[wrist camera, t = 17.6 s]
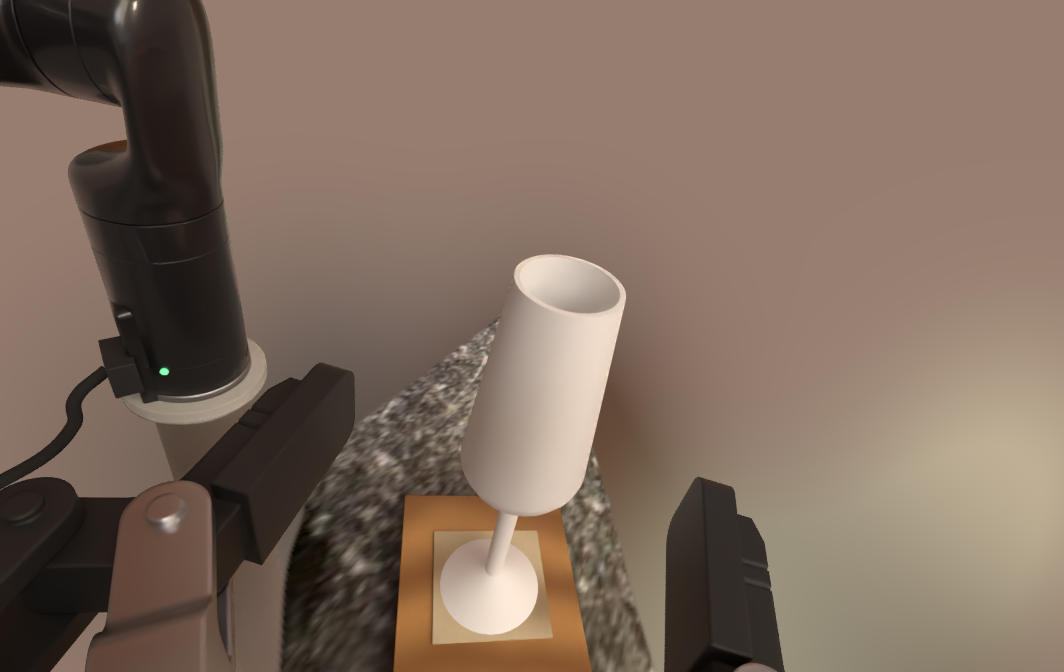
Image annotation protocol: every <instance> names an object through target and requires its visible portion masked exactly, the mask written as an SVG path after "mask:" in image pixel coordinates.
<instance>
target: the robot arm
mask: <svg viewBox="0 0 1064 672" xmlns="http://www.w3.org/2000/svg"><path fill="white" fill-rule="evenodd" d="M0 86H7V87H18V88H29V89H35V90H41V91H46V92H51V93H55V94H60V95H64V96H69V97H74V98H80V99H84V100H89V101H94V102H99V103H103V104H108V105H113V106H118V107H122V109H123V114H124V120H125V127H126V134H127V140H122V141H116V142H111V143H107V144H103V145H99V146H96V147H94V148H91V149H88V150H86V151H84V152H83V153H81V154H79V155H77V156H76V157H75V158H74V159H73V160H72V161H71V163H70V165H69V169H68V177H69V181H70V185H71V188H72V191H73V194H74V197H75V200H76V203H77V205H78V208H79V211H80V214H81V216H82V220H83V223H84V226H85V229H86V232H87V235H88V237H89V241H90V244H91V247H92V250H93V252H94V256H95V259H96V262H97V265H98V268H99V271H100V274H101V276H102V280H103V283H104V286H105V289H106V292H107V295H108V299H109V302H110V306H111V309H112V312H113V316H114V319H115V322H116V325H117V328H118V331H119V334H120V336H118V337H113V338H108V339H103V340H99V341H98V342H99V346H100V350H101V354H102V359H103V363H104V367H105V368H104V367H103V366H101V367H100V368H98V369H97V370H96V371H95V372H93V373H92V374H91V375H90V376H88V377H87V378H86V379H84V380H83V381H82V382H81V383H79V384H78V385H77V386H76V387H75V388H74V390H73V391H72V392H71V394H70V395H69V397H68V399H67V401H66V413H67V418H68V420H67V423H66V425H65V426H64V428H63V429H62V431H61V432H60V433H59V434H58V436H57V437H56V438H55V439H54V440H53V441H52V442H51V443H50V444H49V445H48V446H46V447H45V448H44V449H43V450H41V451H40V452H38V453H37V454H36V455H34V456H32V457H31V458H30V459H28V460H26V461H24V462H22V463H21V464H19V465H17V466H15V467H13V468H11V469H9V470H7V471H5V472H4V473H2V474H0V489H2V488H4V487H5V486H7V485H9V484H11V483H13V482H15V481H17V480H18V479H20V478H22V477H24V476H25V475H27V474H29V473H31V472H33V471H34V470H36V469H38V468H39V467H41V466H42V465H44V464H46V463H47V462H48V461H49V460H51V459H52V458H54V457H55V456H56V455H57V454H58V453H60V452H61V451H62V450H63V449H64V448H65V447H66V446H67V445H68V444H69V443H70V441H71V440H72V439H73V438H74V436H75V435H76V433H77V432H78V430H79V429H80V427H81V425H82V423H83V413H82V409H81V404H82V401H83V399H84V398H85V396H86V395H87V394H88V393H89V392H90V391H91V390H92V389H93V388H95V387H96V386H97V385H99V384H100V383H101V382H102V381H104V380H105V379H106V378H107V377H108V378H109V381H110V384H111V387H112V389H113V392H114V395H115V397H116V398H121V397H125V396H129V395H133V394H137V393H140V396H141V399H142V402H143V403H144V404H147V403H151V402H155V401H163V402H170V403H190V402H198V401H203V400H207V399H210V398H213V397H216V396H219V395H221V394H223V393H225V392H227V391H229V390H231V389H232V388H234V387H235V386H237V385H238V384H239V383H240V382H241V381H242V380H243V379H244V378H245V377H246V376H247V374H248V373H249V370H250V368H251V356H250V351H249V347H248V342H247V338H246V332H245V326H244V320H243V314H242V307H241V301H240V295H239V289H238V283H237V277H236V271H235V265H234V258H233V252H232V246H231V240H230V234H229V227H228V221H227V215H226V209H225V203H224V196H223V191H222V183H221V176H222V161H223V143H222V134H221V124H220V115H219V106H218V95H217V84H216V72H215V60H214V51H213V43H212V37H211V32H210V27H209V22H208V18H207V15H206V12H205V8H204V5H203V3H202V0H0ZM354 392H355V390H354V374H353V372H351V371H348V370H345V369H341V368H338V367H334V366H331V365H328V364H325V363H318V364H317V365H315V366H314V367H313V368H312V369H311V371H310V372H309V373H308V374H307V375H306V376H305V377H304V378H303V379H302V380H297V379H294V378H288V379H287V380H285V381H283V382H281V383H279V384H277V385H275V386H274V387H272V388H270V389H268V390H267V391H266V392H265V393H264V394H263V395H262V396H261V397H260V398H259V399H258V400H257V401H256V402H255V403H254V404H253V406H252V408H251V410H250V409H249V410H248V411H247V412H246V413H245V414H244V415H243V416H242V417H241V418H240V419H239V422H238V423H235V424H234V425H233V426H232V427H231V428H230V429H229V431H228V432H227V433H226V434H225V435H224V436H223V437H222V438H221V439H220V440H219V441H218V442H217V443H216V444H215V445H214V446H213V447H212V448H211V449H210V450H209V451H208V452H207V453H206V454H205V455H204V457H203V458H202V459H201V460H200V461H199V462H198V463H197V464H196V465H195V466H194V467H193V468H192V469H191V470H190V471H189V472H188V473H187V474H186V475H185V476H184V477H183V478H181V479H180V480H179V481H170V482H166V483H162V484H159V485H156V486H153V487H151V488H149V489H147V490H145V491H144V492H142V493H141V494H139V495H138V496H137V497H131V498H87V497H83V498H82V497H78V496H77V494H76V492H75V490H74V488H73V487H72V485H71V484H70V483H68V482H66V481H65V480H62V479H59V478H53V477H41V478H33V479H28V480H25V481H21V482H18V483H15V484H13V485H10V486H8V487H6V488H4V489H2V490H0V672H50V671H51V670H52V669H53V668H54V666H55V665H56V664H57V662H58V661H59V660H60V659H61V658H62V656H63V655H64V654H65V653H66V652H67V650H68V649H69V648H70V647H71V646H72V644H73V643H74V642H75V641H76V639H77V638H78V637H79V636H80V635H81V633H82V632H83V631H84V630H85V628H86V627H87V626H88V625H89V624H90V622H91V621H92V620H93V619H94V617H95V616H96V615H97V614H98V613H99V612H107V620H106V624H105V627H104V629H103V631H102V632H99V633H97V634H95V636H94V637H93V638H92V641H91V643H90V646H89V649H88V654H87V659H86V666H85V672H236V664H235V635H234V606H233V580H232V576H233V574H234V573H235V571H236V570H237V569H238V567H239V566H240V565H241V563H242V562H243V560H247V561H251V562H254V563H257V564H260V565H262V564H263V563H264V561H265V560H266V558H267V557H268V556H269V554H270V553H271V551H272V550H273V548H274V547H275V545H276V544H277V542H278V541H279V540H280V538H281V537H282V535H283V534H284V532H285V531H286V529H287V528H288V526H289V525H290V523H291V522H292V521H293V519H294V518H295V516H296V515H297V513H298V512H299V511H300V509H301V508H302V506H303V505H304V503H305V502H306V500H307V499H308V498H309V496H310V495H311V493H312V492H313V490H314V489H315V487H316V486H317V484H318V483H319V482H320V480H321V479H322V477H323V476H324V474H325V473H326V471H327V470H328V469H329V467H330V466H331V464H332V463H333V461H334V460H335V458H336V457H337V455H338V454H339V453H340V451H341V450H342V448H343V447H344V445H345V444H346V442H347V440H348V439H349V436H350V434H351V432H352V429H353V425H354V420H355V393H354ZM767 568H768V563H767V556H766V550H765V543H764V541H763V539H762V537H761V535H760V533H759V531H758V530H757V528H756V526H755V524H754V522H753V520H752V519H751V518H748V517H745V516H742V515H739V514H737V508H736V499H735V492H734V489H733V488H732V487H731V486H727V485H724V484H721V483H717V482H714V481H711V480H707V479H704V478H701V477H697V478H695V480H694V481H693V483H692V484H691V486H690V488H689V489H688V491H687V493H686V495H685V496H684V498H683V500H682V501H681V503H680V505H679V507H678V508H677V510H676V512H675V514H674V516H673V517H672V520H671V522H670V526H669V529H668V535H667V542H666V599H665V663H664V672H785V671H784V666H783V660H782V654H781V647H780V642H779V634H778V628H777V621H776V615H775V608H774V602H773V595H772V591H770V588H771V582H770V576H769V571H767Z"/></svg>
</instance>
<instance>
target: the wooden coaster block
mask: <svg viewBox="0 0 1064 672" xmlns="http://www.w3.org/2000/svg"><path fill="white" fill-rule="evenodd" d="M498 513H499V510H497V509H495V508H493V507H491V506H490V505H489V504H487V503H486V502H485V501H483V500H482V499H481V498H480V497H479V496H444V495H405V503H404V516H403V529H402V544H401V562H400V577H399V592H398V607H397V622H396V636H395V651H394V666H393V672H592V671H591V666H590V661H589V656H588V650H587V645H586V640H585V635H584V630H583V625H582V619H581V614H580V609H579V604H578V599H577V594H576V588H575V583H574V578H573V573H572V568H571V563H570V557H569V552H568V547H567V542H566V537H565V532H564V526H563V521H562V516H561V511H560V508H558V509H555V510H553V511H551V512H549V513H546V514H542V515H538V516H526V517H523V516H518V518H517V521H516V525H515V528H514V532H513V535H512V539H511V542H510V544H511V545H513V546H515V547H516V548H518V549H519V550H520V551H521V552H522V553H523V554H524V555H525V556H526V557H527V558H528V559H529V561H530V563H531V564H532V566H533V568H534V570H535V573H536V576H537V581H538V595H537V600H536V604H535V606H534V608H533V610H532V612H531V613H530V615H529V616H528V618H527V619H526V620H525V621H524V622H523V623H522V624H521V625H519V626H518V627H516V628H514V629H513V630H511V631H508V632H505V633H502V634H494V635H488V634H480V633H477V632H473V631H470V630H469V629H467V628H465V627H463V626H461V625H460V624H459V623H458V622H457V621H456V620H454V619H453V617H452V616H451V615H450V613H449V612H448V611H447V609H446V607H445V605H444V603H443V600H442V596H441V592H440V579H441V573H442V570H443V567H444V565H445V563H446V561H447V560H448V558H449V557H450V555H451V554H452V553H453V552H454V551H455V550H456V549H458V548H459V547H461V546H462V545H464V544H466V543H468V542H470V541H473V540H477V539H486V538H490V539H492V537H493V533H494V529H495V525H496V521H497V517H498Z"/></svg>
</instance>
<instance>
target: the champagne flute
mask: <svg viewBox="0 0 1064 672" xmlns="http://www.w3.org/2000/svg"><path fill="white" fill-rule="evenodd" d="M625 300H626V294H625V290H624V288H623V286H622V284H621V283H620V282H619V281H618V280H617V278H615V277H614V276H613V275H612V274H611V273H609V272H608V271H606V270H604V269H603V268H601V267H599V266H597V265H595V264H593V263H590V262H588V261H585V260H582V259H578V258H574V257H570V256H564V255H539V256H534V257H531V258H528V259H526V260H524V261H522V262H521V263H520V264H519V265H518V266H517V267H516V269H515V271H514V274H513V278H512V281H511V284H510V288H509V291H508V294H507V298H506V301H505V304H504V307H503V310H502V314H501V317H500V320H499V324H498V327H497V330H496V333H495V337H494V340H493V343H492V347H491V350H490V353H489V356H488V360H487V363H486V366H485V369H484V373H483V376H482V379H481V383H480V386H479V389H478V392H477V396H476V399H475V402H474V406H473V409H472V412H471V415H470V419H469V422H468V425H467V429H466V432H465V435H464V438H463V442H462V446H461V463H462V469H463V471H464V474H465V477H466V479H467V481H468V482H469V484H470V486H471V487H472V489H473V490H474V491H475V493H476V494H477V495H478V496H479V497H480V498H481V499H482V500H483V501H485V502H486V503H487V504H489V505H490V506H491V507H493V508H495V509H497V510H499V513H498V517H497V521H496V525H495V529H494V533H493V537H492V539H490V538H486V539H477V540H473V541H470V542H468V543H466V544H464V545H462V546H461V547H459V548H458V549H456V550H455V551H454V552H453V553H452V554H451V555H450V557H449V558H448V560H447V561H446V563H445V565H444V567H443V570H442V573H441V579H440V592H441V596H442V600H443V603H444V605H445V607H446V609H447V611H448V612H449V613H450V615H451V616H452V617H453V619H454V620H456V621H457V622H458V623H459V624H460V625H461V626H463V627H465V628H467V629H469V630H470V631H473V632H477V633H480V634H488V635H494V634H502V633H505V632H508V631H511V630H513V629H514V628H516V627H518V626H519V625H521V624H522V623H523V622H524V621H525V620H526V619H527V618H528V616H529V615H530V613H531V612H532V610H533V608H534V606H535V604H536V600H537V595H538V581H537V576H536V573H535V570H534V568H533V566H532V564H531V563H530V561H529V559H528V558H527V557H526V556H525V555H524V554H523V553H522V552H521V551H520V550H519V549H518V548H516V547H515V546H513V545H511V544H510V542H511V539H512V535H513V532H514V528H515V525H516V521H517V518H518V516H523V517H526V516H538V515H542V514H546V513H549V512H551V511H553V510H555V509H558V508H560V507H562V506H563V505H564V504H566V503H567V502H568V501H570V500H571V499H572V497H573V496H574V495H575V494H576V492H577V491H578V490H579V489H580V487H581V484H582V482H583V480H584V476H585V472H586V468H587V463H588V459H589V455H590V451H591V446H592V442H593V438H594V433H595V429H596V425H597V421H598V416H599V412H600V408H601V403H602V399H603V395H604V391H605V386H606V382H607V378H608V373H609V369H610V365H611V361H612V356H613V352H614V348H615V344H616V339H617V335H618V331H619V327H620V322H621V318H622V314H623V309H624V305H625Z"/></svg>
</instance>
